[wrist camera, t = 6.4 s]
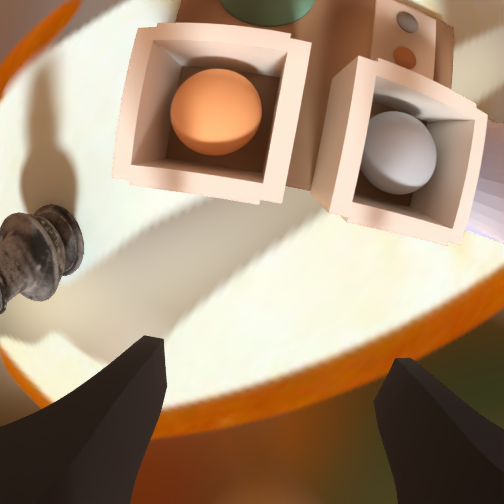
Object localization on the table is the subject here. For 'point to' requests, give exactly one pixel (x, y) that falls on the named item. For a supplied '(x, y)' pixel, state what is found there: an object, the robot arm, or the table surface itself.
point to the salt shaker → (37, 253)
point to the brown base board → (321, 68)
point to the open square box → (441, 129)
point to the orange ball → (216, 112)
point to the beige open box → (165, 86)
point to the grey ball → (398, 153)
